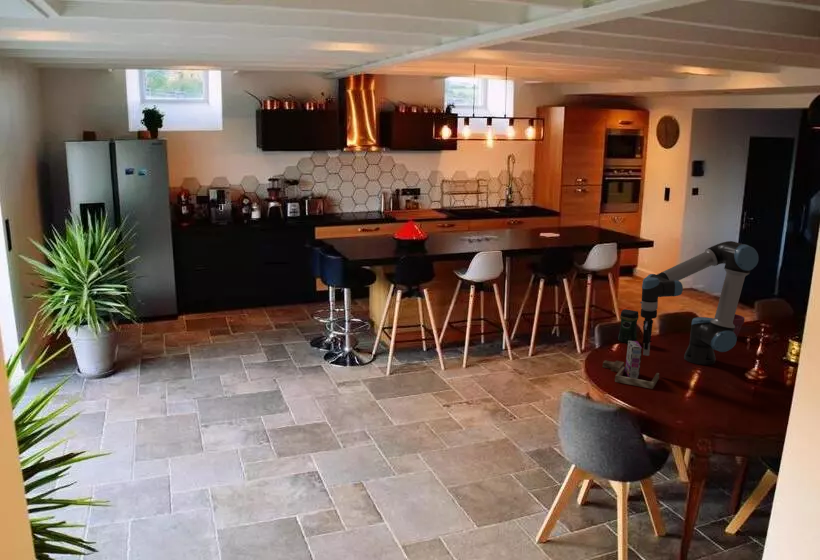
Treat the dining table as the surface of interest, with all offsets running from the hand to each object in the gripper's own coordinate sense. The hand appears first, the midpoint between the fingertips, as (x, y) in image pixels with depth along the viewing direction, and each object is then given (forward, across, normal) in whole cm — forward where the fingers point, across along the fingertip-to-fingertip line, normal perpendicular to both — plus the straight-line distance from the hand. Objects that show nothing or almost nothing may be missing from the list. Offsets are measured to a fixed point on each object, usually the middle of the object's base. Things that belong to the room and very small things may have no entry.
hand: (646, 354), depth 340 cm
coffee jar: (+10, -46, -19) cm, 51 cm away
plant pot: (+12, -89, +30) cm, 95 cm away
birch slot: (+9, +14, -1) cm, 16 cm away
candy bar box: (+9, +9, -4) cm, 14 cm away
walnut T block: (+9, +3, -15) cm, 17 cm away
